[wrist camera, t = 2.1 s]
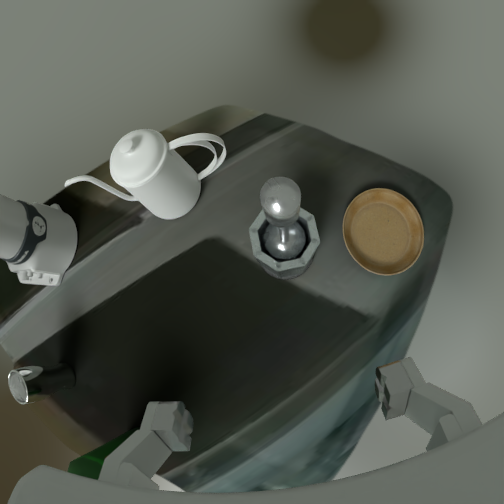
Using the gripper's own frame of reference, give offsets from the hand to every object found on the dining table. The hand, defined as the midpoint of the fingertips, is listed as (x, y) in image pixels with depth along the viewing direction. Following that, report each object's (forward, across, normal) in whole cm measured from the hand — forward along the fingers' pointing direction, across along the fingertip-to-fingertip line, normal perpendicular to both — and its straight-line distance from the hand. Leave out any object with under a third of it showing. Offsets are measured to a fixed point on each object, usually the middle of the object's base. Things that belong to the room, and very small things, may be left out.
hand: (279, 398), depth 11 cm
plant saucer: (+37, -19, +11) cm, 43 cm away
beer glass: (+28, +48, +25) cm, 61 cm away
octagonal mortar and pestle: (+37, -2, +10) cm, 39 cm away
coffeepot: (+46, +16, -2) cm, 48 cm away
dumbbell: (+29, -2, +5) cm, 30 cm away
